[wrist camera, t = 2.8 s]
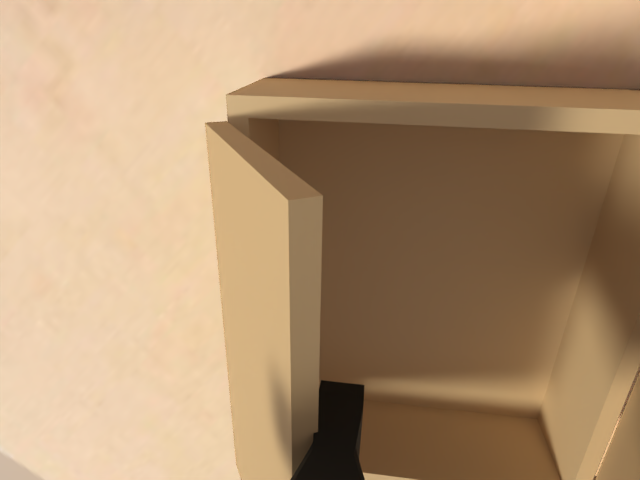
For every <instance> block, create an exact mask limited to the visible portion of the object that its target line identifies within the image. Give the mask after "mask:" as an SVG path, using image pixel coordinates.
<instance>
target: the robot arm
mask: <svg viewBox="0 0 640 480" xmlns="http://www.w3.org/2000/svg"><path fill="white" fill-rule="evenodd" d="M363 405H364V385H361V384H352V383H343V382H333V381H324V380H321V383H320V387H319V406H318V432H316V433H313V443H312V445H311V446H310V448H309V450H308V452H307V453H306V455H305V457H304V458H303V460H302V462H301V463H300V465H299V467H298V468H297V470H296V471H295V473H294V475H293V476H292V478H291V479H290V480H365V478H364V475H363V472H362V468H361V465H360V461H359V454H360V442H361V430H362V418H363Z"/></svg>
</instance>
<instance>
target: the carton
mask: <svg viewBox="0 0 640 480" xmlns="http://www.w3.org/2000/svg"><path fill="white" fill-rule="evenodd" d="M226 102H227V116H228V123H229V124H231V125H232V126H233V127H235V128H236V129H237V130H239V131H240V132H241V133H242V134H244V135H245V136H246V137H248V138H249V139H250V140H251V141H253V142H254V143H255V144H257V145H258V146H259V147H261V148H262V149H263V150H264V151H266V152H267V153H268V154H270V155H271V156H272V157H274V158H275V159H276V160H277V161H279V162H280V163H281V164H283V165H284V166H285V167H286V168H288V169H289V170H290V171H292V172H293V173H294V174H296V175H297V176H298V177H299V178H301V179H302V180H303V181H305V182H306V183H307V184H308V185H310V186H311V187H312V188H314V189H315V190H316V191H318V192H319V193H320V194H321V195H323V212H322V260H321V309H320V357H319V387H320V383H321V380H324V381H333V382H343V383H352V384H361V385H364V405H363V418H362V430H361V442H360V454H359V461H360V465H361V468H362V472H363V475H364V478H365V480H593V479H594V476H595V474H596V472H597V469H598V467H599V464H600V462H601V459H602V457H603V454H604V452H605V450H606V447H607V445H608V442H609V440H610V437H611V435H612V433H613V430H614V428H615V425H616V423H617V420H618V418H619V415H620V413H621V411H622V408H623V406H624V403H625V401H626V398H627V396H628V393H629V391H630V389H631V386H632V384H633V381H634V379H635V376H636V374H637V371H638V369H639V367H640V90H631V89H600V88H570V87H539V86H508V85H478V84H447V83H416V82H385V81H355V80H324V79H293V78H263V79H261V80H258V81H256V82H254V83H252V84H249V85H247V86H245V87H243V88H240V89H238V90H236V91H234V92H231V93H229V94H227V95H226Z"/></svg>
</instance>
